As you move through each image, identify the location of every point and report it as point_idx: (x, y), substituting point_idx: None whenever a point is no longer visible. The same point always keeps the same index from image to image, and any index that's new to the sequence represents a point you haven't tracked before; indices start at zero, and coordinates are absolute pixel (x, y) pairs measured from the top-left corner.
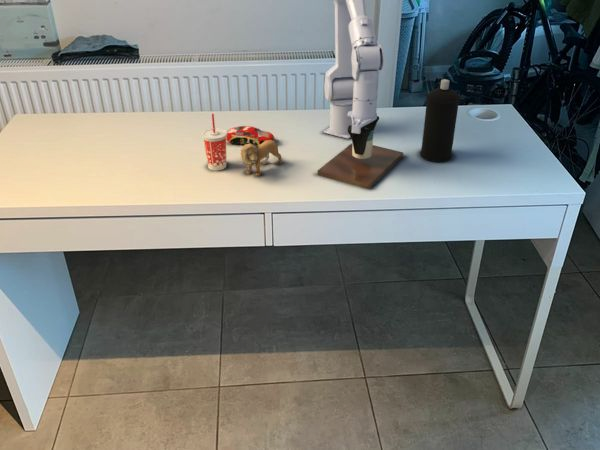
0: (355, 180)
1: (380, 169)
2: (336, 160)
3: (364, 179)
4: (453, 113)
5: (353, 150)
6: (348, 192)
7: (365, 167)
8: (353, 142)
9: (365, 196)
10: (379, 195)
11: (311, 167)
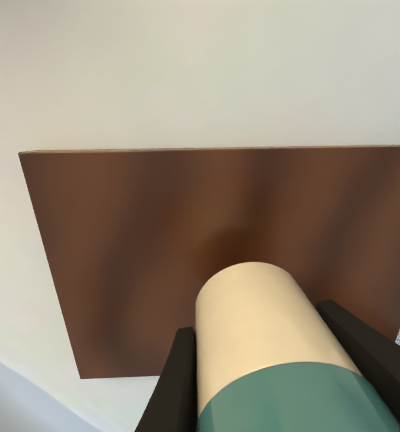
0: (71, 334)
1: None
2: (184, 180)
3: (102, 353)
4: None
5: (206, 310)
6: (17, 324)
7: (194, 317)
8: (141, 425)
9: (40, 371)
10: (77, 394)
11: (78, 70)
